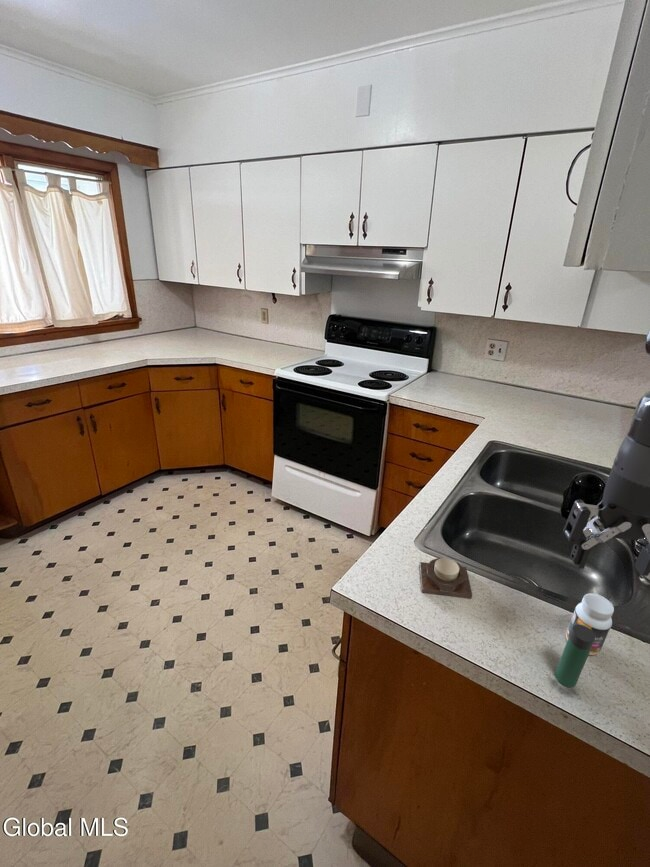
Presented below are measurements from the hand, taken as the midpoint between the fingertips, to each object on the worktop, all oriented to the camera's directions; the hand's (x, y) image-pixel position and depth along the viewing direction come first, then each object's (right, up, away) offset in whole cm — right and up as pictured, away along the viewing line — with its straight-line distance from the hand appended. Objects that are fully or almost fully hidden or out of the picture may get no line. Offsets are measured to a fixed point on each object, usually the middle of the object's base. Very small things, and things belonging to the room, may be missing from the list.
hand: (609, 568), depth 61 cm
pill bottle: (+6, -19, +17) cm, 26 cm away
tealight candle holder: (-16, -12, +30) cm, 36 cm away
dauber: (-1, -22, +10) cm, 24 cm away
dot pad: (-16, -10, +28) cm, 34 cm away
